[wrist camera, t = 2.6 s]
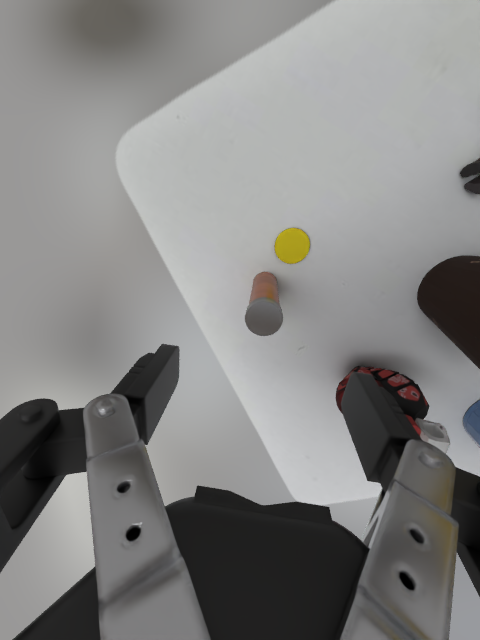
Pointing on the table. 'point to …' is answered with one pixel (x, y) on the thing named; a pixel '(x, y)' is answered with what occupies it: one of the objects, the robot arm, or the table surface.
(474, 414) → the cup
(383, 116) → the table surface
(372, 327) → the table surface
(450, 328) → the coffee mug
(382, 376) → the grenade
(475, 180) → the character figure
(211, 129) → the table surface
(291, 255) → the disc
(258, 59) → the table surface
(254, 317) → the orange and grey cylinder
